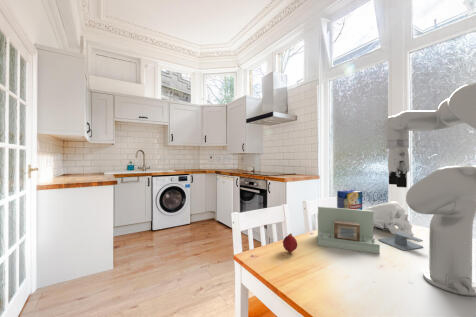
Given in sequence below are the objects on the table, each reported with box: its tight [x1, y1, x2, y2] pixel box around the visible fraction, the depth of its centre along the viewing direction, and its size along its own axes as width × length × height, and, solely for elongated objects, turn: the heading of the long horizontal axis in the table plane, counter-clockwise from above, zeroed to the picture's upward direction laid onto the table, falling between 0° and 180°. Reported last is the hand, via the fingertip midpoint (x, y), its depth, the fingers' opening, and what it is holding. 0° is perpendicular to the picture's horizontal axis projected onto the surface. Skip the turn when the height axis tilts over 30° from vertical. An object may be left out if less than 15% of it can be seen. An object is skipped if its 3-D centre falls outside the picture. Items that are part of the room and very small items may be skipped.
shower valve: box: [378, 232, 424, 252], centre depth 96 cm, size 12×6×15 cm
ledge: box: [317, 205, 381, 255], centre depth 97 cm, size 13×24×15 cm, turn 69°
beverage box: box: [336, 189, 363, 210], centre depth 113 cm, size 7×11×22 cm, turn 115°
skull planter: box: [366, 200, 415, 236], centre depth 116 cm, size 14×20×19 cm
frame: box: [334, 221, 360, 242], centre depth 95 cm, size 4×10×8 cm, turn 69°
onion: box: [282, 233, 298, 253], centre depth 88 cm, size 6×6×8 cm
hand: (397, 185), depth 88 cm, fingers open, 9 cm apart
